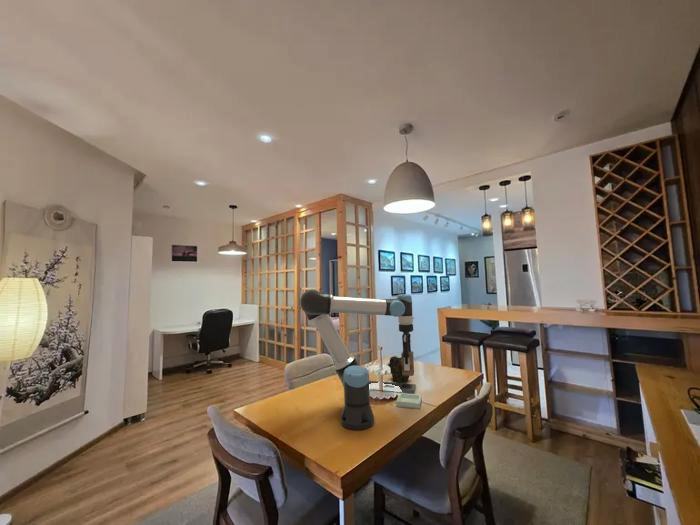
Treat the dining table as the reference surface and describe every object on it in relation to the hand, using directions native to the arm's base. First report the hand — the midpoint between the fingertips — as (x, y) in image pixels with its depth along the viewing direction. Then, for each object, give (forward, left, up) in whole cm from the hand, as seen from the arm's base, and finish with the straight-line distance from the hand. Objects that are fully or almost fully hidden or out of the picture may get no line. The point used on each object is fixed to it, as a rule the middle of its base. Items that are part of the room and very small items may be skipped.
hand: (407, 368), depth 148 cm
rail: (+18, +14, -18) cm, 29 cm away
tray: (0, 0, -18) cm, 18 cm away
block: (0, 0, -3) cm, 3 cm away
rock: (+34, +10, -18) cm, 40 cm away
